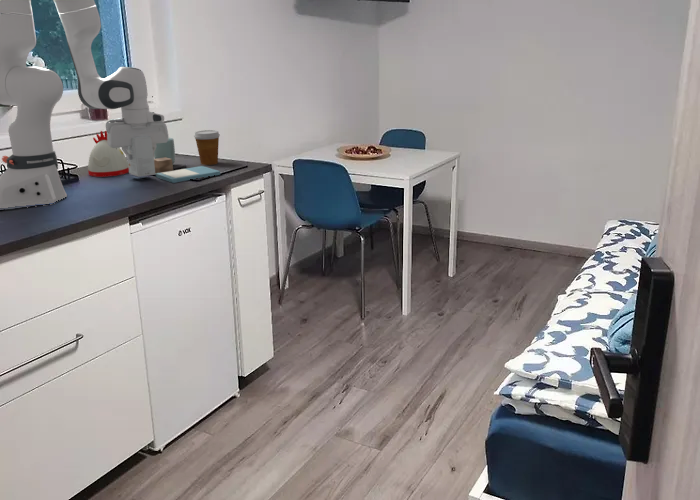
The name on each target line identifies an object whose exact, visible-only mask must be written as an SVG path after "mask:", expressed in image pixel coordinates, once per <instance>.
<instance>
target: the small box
mask: <svg viewBox="0 0 700 500" xmlns="http://www.w3.org/2000/svg"><path fill="white" fill-rule="evenodd" d="M127 151H128V153H129V154H132V158H133V159H132V160H127V162H128V167H129V172H128V173H129V174H130V175H133V176H135V177H138V178H140V177H147V176H153V175H155V176H156V173H155V165H154V159H155V158H154V155H153V145H152V137H150V136H142V137H134V138H132V146H129V147H128V150H127Z"/></svg>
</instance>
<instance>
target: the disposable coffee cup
mask: <svg viewBox="0 0 700 500" xmlns="http://www.w3.org/2000/svg"><path fill="white" fill-rule="evenodd" d="M220 136H221V135H220V134H219V131H218V130H216V129H215V130H214V129H213V130H212V129H208V130H205V129H204V130H198V131H195V132H194V135H193V137H194V139H195V141H196V147H197V152H198V157H199V161H200V165H201V166H213V165H217V164H218V163H219V161H218V160H219V141H220V140H219V138H220Z"/></svg>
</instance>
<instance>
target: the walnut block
mask: <svg viewBox="0 0 700 500" xmlns="http://www.w3.org/2000/svg"><path fill="white" fill-rule="evenodd" d="M154 165H155V174H156V173H162V172H168V171H174V166H173V165H174V164H173V165H172V159H169V158H166V157H165V158H158V159H155V158H154Z"/></svg>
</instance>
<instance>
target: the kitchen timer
mask: <svg viewBox="0 0 700 500" xmlns="http://www.w3.org/2000/svg"><path fill="white" fill-rule="evenodd" d="M99 133H100V135H99ZM99 133H97V134H95V135H96V137H97V139H96V138H95V137H92V139H93V141H94V143H95V145H94V146H93V147H92V149H91V152H90V154H89V157H88V162H87V163H88V164H87V172H88V173H87V174H88V175H89V176H91V177H97V178H98V177H99V178H100V177H102V178H103V177H105V178H106V177H113V176H114V177H115V176H121V175H125V174H128V173H129V167H128V160H127V159H126V154H125V153H124V152H123V150H122V148H121V147H120V148H111V147H110V146H109V145H108V143H107V131H106V130H105V131H104V132H103V130H100V131H99Z"/></svg>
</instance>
